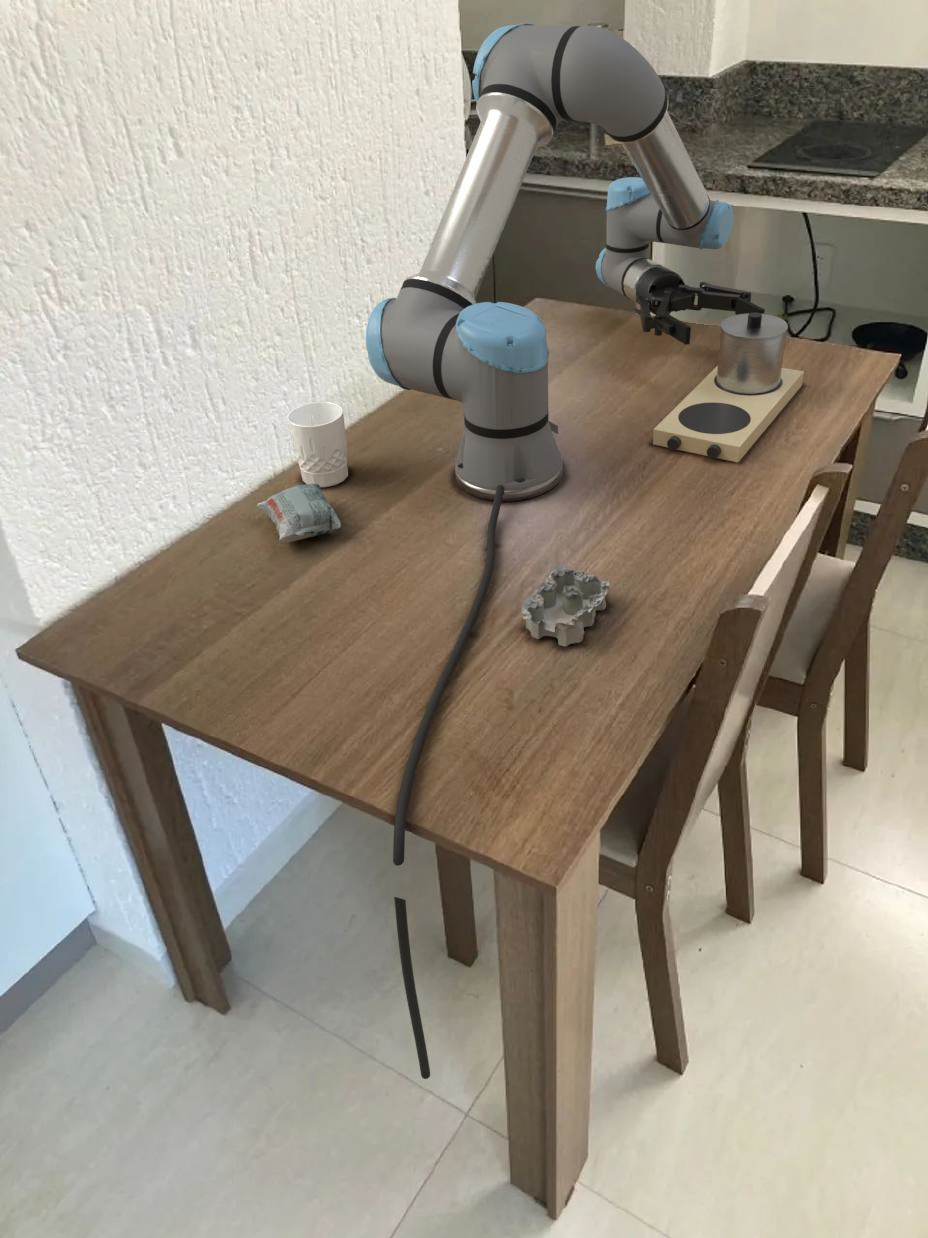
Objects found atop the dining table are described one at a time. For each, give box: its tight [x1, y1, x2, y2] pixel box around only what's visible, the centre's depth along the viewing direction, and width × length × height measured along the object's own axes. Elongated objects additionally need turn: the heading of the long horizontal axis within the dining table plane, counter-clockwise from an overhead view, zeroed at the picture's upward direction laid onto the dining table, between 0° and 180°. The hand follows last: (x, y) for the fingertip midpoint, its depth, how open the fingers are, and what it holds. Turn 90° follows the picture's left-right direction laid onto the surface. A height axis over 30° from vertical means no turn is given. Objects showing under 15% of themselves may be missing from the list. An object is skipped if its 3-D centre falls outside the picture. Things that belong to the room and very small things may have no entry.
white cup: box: [286, 401, 349, 488], centre depth 145 cm, size 8×8×10 cm
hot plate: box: [652, 365, 805, 464], centre depth 154 cm, size 29×13×2 cm, turn 147°
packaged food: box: [256, 483, 342, 545], centre depth 136 cm, size 9×12×5 cm
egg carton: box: [521, 562, 611, 648], centre depth 116 cm, size 11×8×4 cm
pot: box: [717, 313, 789, 394], centre depth 155 cm, size 10×10×11 cm
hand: (725, 326), depth 160 cm, fingers open, 13 cm apart
